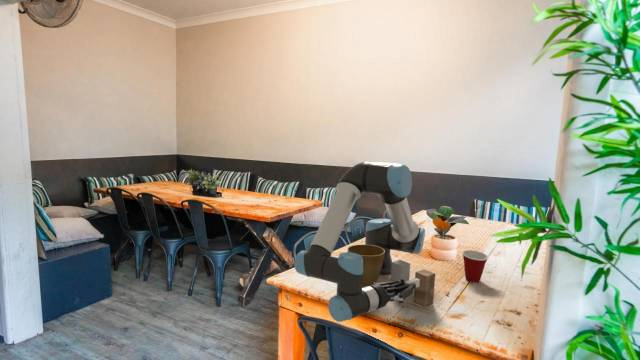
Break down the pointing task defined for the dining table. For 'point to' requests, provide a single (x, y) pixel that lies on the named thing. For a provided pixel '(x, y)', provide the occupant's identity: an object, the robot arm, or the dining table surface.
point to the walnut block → (424, 289)
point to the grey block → (400, 271)
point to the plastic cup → (474, 265)
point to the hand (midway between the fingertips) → (417, 282)
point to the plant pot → (369, 261)
